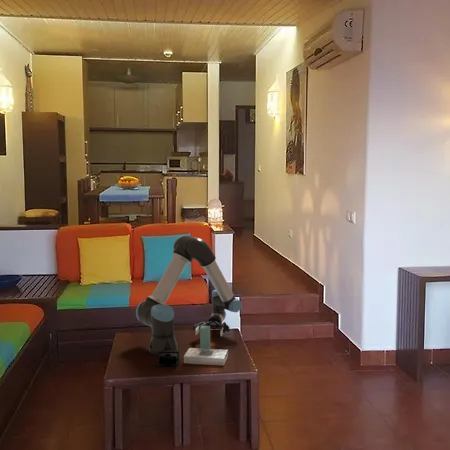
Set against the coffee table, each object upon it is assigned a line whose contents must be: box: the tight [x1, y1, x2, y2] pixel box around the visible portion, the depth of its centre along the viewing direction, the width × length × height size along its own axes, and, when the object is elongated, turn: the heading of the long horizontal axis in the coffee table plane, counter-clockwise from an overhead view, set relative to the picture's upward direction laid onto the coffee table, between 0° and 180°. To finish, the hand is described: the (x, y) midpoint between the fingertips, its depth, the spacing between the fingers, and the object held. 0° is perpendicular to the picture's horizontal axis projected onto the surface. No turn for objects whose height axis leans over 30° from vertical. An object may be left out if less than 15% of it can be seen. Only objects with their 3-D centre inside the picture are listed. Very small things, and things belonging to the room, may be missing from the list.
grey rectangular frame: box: [183, 347, 229, 366], centre depth 284 cm, size 20×12×4 cm, turn 80°
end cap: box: [157, 350, 180, 369], centre depth 277 cm, size 10×7×7 cm
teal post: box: [199, 326, 211, 349], centre depth 298 cm, size 4×4×12 cm
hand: (208, 333), depth 304 cm, fingers open, 13 cm apart
